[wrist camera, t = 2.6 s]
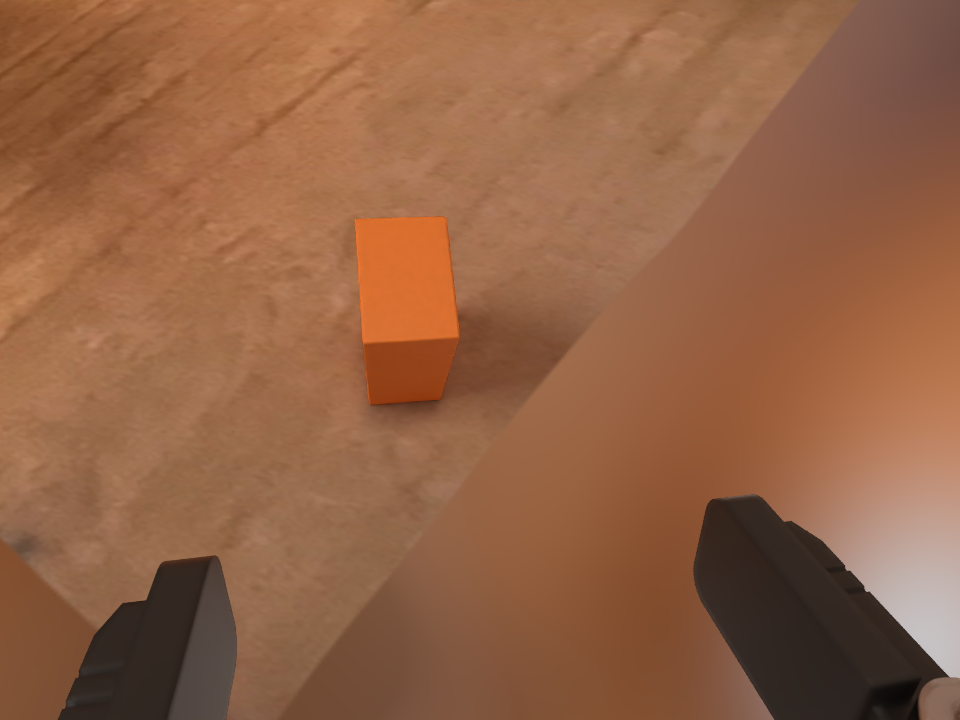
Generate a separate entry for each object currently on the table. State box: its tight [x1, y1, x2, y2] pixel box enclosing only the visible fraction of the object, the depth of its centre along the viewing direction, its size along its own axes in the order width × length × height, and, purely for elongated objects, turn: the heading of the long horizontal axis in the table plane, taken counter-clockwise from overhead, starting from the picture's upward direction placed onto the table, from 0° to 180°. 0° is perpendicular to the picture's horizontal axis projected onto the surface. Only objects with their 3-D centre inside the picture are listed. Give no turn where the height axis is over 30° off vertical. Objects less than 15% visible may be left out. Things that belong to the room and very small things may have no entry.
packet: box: [355, 216, 460, 405], centre depth 28 cm, size 5×4×9 cm
